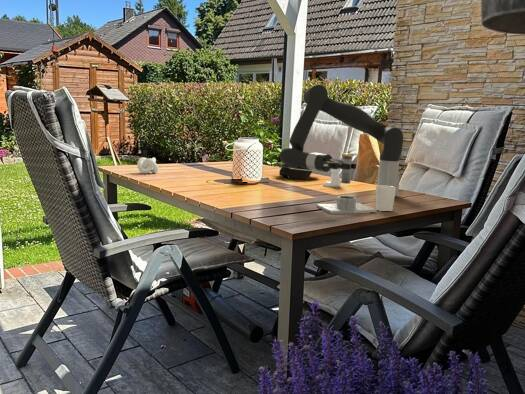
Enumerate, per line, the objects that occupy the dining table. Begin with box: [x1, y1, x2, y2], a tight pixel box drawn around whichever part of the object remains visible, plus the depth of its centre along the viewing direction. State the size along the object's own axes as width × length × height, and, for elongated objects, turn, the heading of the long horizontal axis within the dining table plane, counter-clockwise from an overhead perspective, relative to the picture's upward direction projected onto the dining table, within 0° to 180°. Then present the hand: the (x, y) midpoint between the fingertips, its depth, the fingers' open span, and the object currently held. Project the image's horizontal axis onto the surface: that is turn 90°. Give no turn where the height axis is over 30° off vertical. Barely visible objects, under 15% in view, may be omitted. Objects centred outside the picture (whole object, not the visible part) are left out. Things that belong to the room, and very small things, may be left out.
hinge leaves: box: [316, 195, 377, 215], centre depth 202 cm, size 20×14×5 cm
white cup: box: [375, 184, 396, 212], centre depth 203 cm, size 8×8×10 cm
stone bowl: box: [276, 161, 317, 180], centre depth 290 cm, size 25×25×9 cm
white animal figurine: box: [137, 157, 159, 175], centre depth 285 cm, size 11×12×9 cm
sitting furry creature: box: [322, 169, 342, 188], centre depth 261 cm, size 10×9×12 cm
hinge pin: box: [340, 152, 354, 184], centre depth 201 cm, size 5×5×12 cm
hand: (352, 166), depth 199 cm, fingers closed on hinge pin, 3 cm apart
